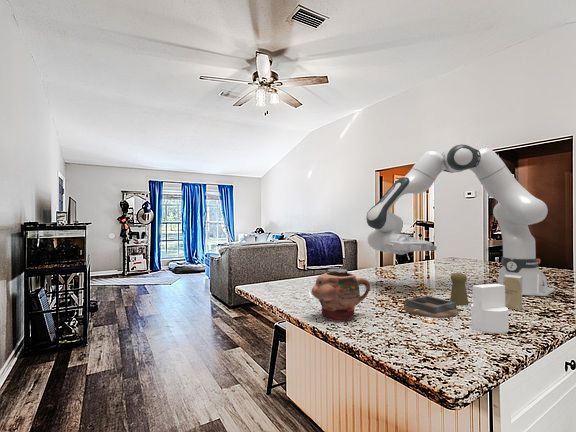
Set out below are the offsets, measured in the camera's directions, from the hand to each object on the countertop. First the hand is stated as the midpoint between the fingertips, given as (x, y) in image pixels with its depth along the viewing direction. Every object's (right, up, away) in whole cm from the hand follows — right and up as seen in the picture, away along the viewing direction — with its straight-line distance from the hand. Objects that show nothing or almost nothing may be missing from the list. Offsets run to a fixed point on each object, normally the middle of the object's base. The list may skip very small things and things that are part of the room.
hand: (428, 248), depth 127 cm
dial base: (-7, -19, -18) cm, 27 cm away
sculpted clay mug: (-38, -20, -24) cm, 49 cm away
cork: (+7, -19, -10) cm, 23 cm away
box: (+22, -19, -17) cm, 33 cm away
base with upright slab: (+2, -19, -36) cm, 41 cm away
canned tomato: (-36, -20, 0) cm, 41 cm away
